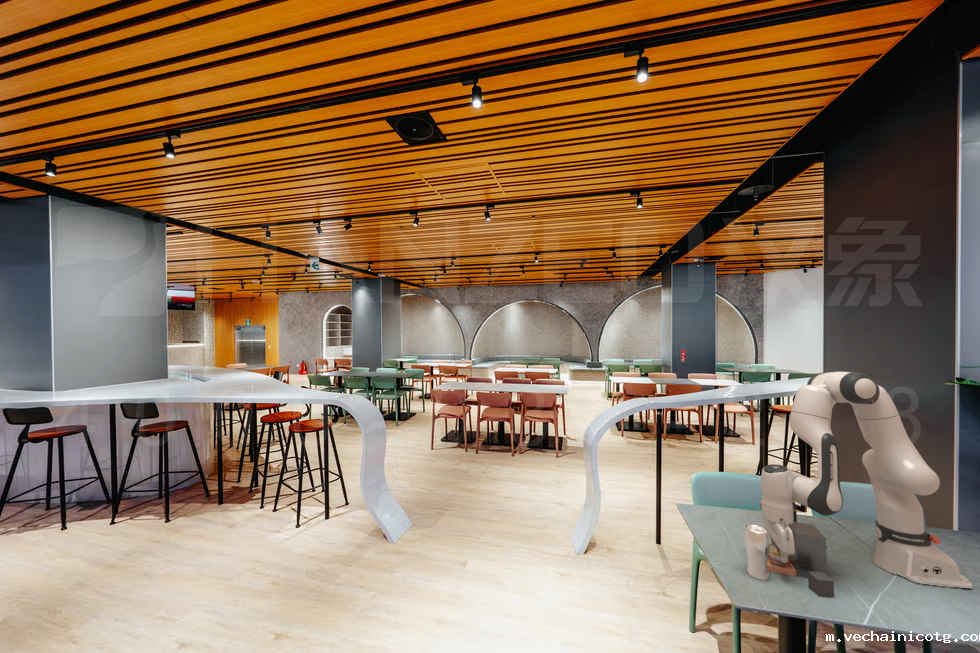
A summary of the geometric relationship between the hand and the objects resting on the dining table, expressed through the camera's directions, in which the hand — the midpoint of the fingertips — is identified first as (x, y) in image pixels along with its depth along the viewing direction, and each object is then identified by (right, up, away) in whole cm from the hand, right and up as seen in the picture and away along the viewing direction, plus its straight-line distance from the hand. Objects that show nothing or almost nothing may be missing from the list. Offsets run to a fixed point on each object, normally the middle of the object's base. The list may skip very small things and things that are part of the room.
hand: (779, 553), depth 132 cm
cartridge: (0, -4, 0) cm, 4 cm away
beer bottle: (+20, -6, +23) cm, 31 cm away
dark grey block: (+8, -5, -2) cm, 9 cm away
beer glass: (-10, -5, -4) cm, 12 cm away
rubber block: (+3, -4, -13) cm, 14 cm away
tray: (0, -5, 0) cm, 5 cm away
